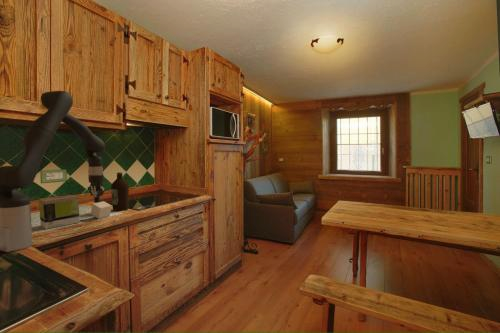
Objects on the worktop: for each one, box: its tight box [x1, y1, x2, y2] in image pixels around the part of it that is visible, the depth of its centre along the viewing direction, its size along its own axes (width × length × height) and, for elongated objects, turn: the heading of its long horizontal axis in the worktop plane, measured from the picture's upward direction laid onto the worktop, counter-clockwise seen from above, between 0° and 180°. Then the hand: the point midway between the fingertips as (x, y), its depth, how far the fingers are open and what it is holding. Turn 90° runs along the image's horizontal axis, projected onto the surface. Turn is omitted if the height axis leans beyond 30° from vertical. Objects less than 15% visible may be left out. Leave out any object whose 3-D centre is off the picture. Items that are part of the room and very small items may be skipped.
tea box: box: [38, 194, 81, 230], centre depth 129 cm, size 15×10×15 cm, turn 141°
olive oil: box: [110, 171, 130, 212], centre depth 161 cm, size 11×11×25 cm
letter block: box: [90, 200, 113, 220], centre depth 143 cm, size 7×7×7 cm
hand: (97, 203), depth 144 cm, fingers closed
